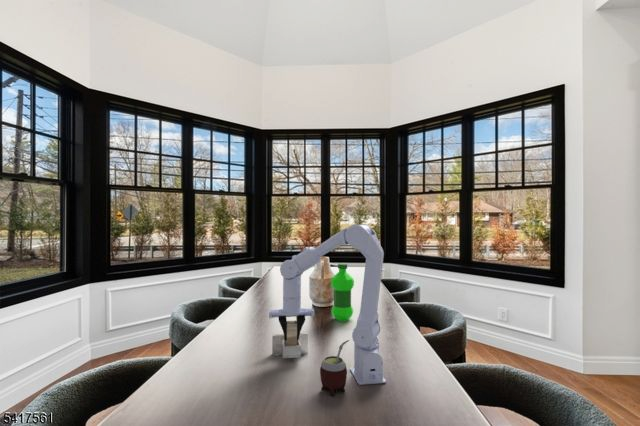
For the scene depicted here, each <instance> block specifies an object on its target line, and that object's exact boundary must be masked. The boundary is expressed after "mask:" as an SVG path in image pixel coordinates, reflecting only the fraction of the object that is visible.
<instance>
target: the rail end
mask: <svg viewBox="0 0 640 426" xmlns="http://www.w3.org/2000/svg"><path fill="white" fill-rule="evenodd" d="M286 332H287V341H286V346H291V345H297V321H296V320H287V329H286Z"/></svg>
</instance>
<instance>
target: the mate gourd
mask: <svg viewBox="0 0 640 426" xmlns="http://www.w3.org/2000/svg"><path fill="white" fill-rule="evenodd" d="M348 342H350V339H348V340H345V341H343V342H342V343H341V344H340V345H339V347H338V352H337V355H329V356H326V357H324V358H323V360H322V361H321V363H320V369H319V375H320V382H321V390H322V391H328V392H330V397H331V398H333V397H334V396H335V392H336V393H338V392H339V393H345V392H346V388H345V387H346V384H347V383H346V382H347V374H348V373H347V371H348V369H347V364H346V362H345V360H344V359H343V358H342V357H340V355H341V352H342V350H343V347H344V345H345V344H347V343H348Z"/></svg>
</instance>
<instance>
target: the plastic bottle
mask: <svg viewBox="0 0 640 426" xmlns="http://www.w3.org/2000/svg"><path fill="white" fill-rule="evenodd" d="M337 269H338V272H337V273H336V274H334V276H333V277H332V278H331V280H330V287H331V289H333V304H332V305H333V306H332V307H331V311H330V313H331V315H332V317H334V318H335V320H336V321H338V322H347V321H348V320H349V319H350V318H352V316H353V313H354V309H353V306H352V289H353V288H354V286H355V281H354V278H353V276H351V275H350V274H349V273H348V272H347V269H348V263H338V264H337Z"/></svg>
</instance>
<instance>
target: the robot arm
mask: <svg viewBox="0 0 640 426" xmlns="http://www.w3.org/2000/svg"><path fill="white" fill-rule="evenodd" d="M347 245H350V246H351V247H353V248H354V249H355V250H358V251H359V252H360V254H362V255H363V256H364V258H365V265H364V274H363V280H362V281H363V283H362V291H361V292H362V293H361V301H360V308H359V310H360V311H359V313H358V317H357V321H356V325H355V328H354V329H353V330H352V336H351V337H352V340H353V343H354V345H353V346H354V347H353V349H354V350H353V351H354V352H353V357H354V358H353V362H354V363H353V364H354V365H353V366H352V367H350V368H349V369H350V372H351V373H352V375H353V377H354V379H355V381H356V382H357V384H358V385H359V386H362V385H363V386H365V385H375V384H386V383H387V380H386V379H385V377H384V376H383V375H384V374H383V373H384V370H383V369H384V368H383V367H384V366H383V365H384V361H383V358H382V357H383V356H381V354H380V342H379V339H378V335H379V334H380V333H381V325H380V322H379V313H378V310H379V301H380V290H381V282H382V275H383V274H382V273H383V265H384V256H385V252H384V249H383V247H382V246H381V245H382V244H381V243H380V240H379V239H378V237H377V232H376V231H375V230H374V229H373V228H372V227H371V226H369V225H368V224H363V223H362V224H352V225H350V226H349V227H347V228H344V229H341V230H339V231H338V232H337V233H335V234H334V235H333V236H332V235H331V237H329V238H328V239H326V240H325V241H323V242H321V244H319V245H318V246H316V247H314V246H309V247H308V246H306V247H304V248H302V250H303V251H302V252H299V253H298V254H295V255H292V256H291V259H286V260H284V261H283V262H282V263H281V265H280V269H279V272H280V275H281V276H282V277H283V278H282V280H283V281H282V283H283V284H282V309H281V308H280V309H273V310H268V319H273V318H278V322H279V325H280V327H281V329H282V332H283V333H282V334H284V340H285V341H287V332H286V329H287V321H288V320H287V318H291V317H292V318H293V317H295V319H296V320H295V321H296V322H297V340H299V335H300V333H301V330H302V329H303V325H304V324H305V322H306V317H315V309H314V308H302V307H301V304H302V302H301V301H302V300H301V299H302V295H301V294H302V291H301V290H302V288H301V287H302V275H303V273H305V272H306V271H308V270H310V269H312V268H313V267H314V266H317V264H319V263H320V262H321V259H322V257H323V256H325V255H326V254H328V253H329V252H332V251H333V250H334V249H336V248H339V247H340V246H347Z"/></svg>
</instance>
